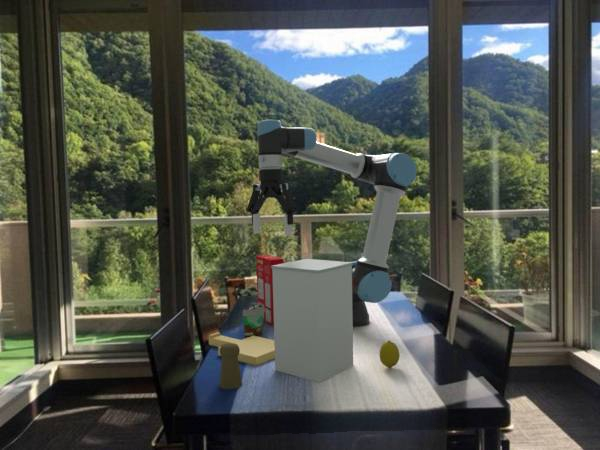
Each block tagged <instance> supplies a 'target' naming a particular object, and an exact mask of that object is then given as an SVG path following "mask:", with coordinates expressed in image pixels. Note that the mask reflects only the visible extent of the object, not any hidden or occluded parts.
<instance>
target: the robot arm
mask: <svg viewBox="0 0 600 450" xmlns="http://www.w3.org/2000/svg"><path fill="white" fill-rule="evenodd" d="M256 136H257V146H258V147H257V150H258V168H260V169H259V170H258V180H259V181H260V183H253V185H252V192H251V195H250V199H249V202H248V203H247V204H248V205H247V207H246V212H247V213H250V215H251V223H252V225H253V226H252V229H253V232H252V233H253V234H254V235H256V234H261V233H262V231H261V214H260V210H261V209H262V207H263V205H264V203H265V202H266V200H267V199H268V198H272V199H273V198H275V199H276V200H277V202H278V203H279V205H280V207H281V208H282V210H283V211H284V212H285V214H283V219H284V220H283V221H284V236H291V235H293V224H294V214H296V213H298V212H299V208H298V206H297V203H296V201H295V198H294V196H293V194H292V191H291V188H290V183H288V182H285V183H283V182H282V180H283V170H282V169H281V168H282V167H283V156H282V155H287V156H290V157H294V158H297V159H301V160H304V161H306V162H311V163H313V164H316V165H320V166H323V167H327V168H328V169H329V168H330V169H333V170H336V171H339V172H343V173H346V174H349V175H350V176H351V178H353V179H357V180H359V181H362V182H364V183H368V184H370V185H373V188H374V190H375V191H376V196H375V199H374V203H373V208H372V212H371V216H370V222H369V225H368V231H367V234H366V239H365V244H364V248H363V252H362V256H361V257H360V258H358V259H357V260H354V261H351V262H352V263H353V265H352V313H353V327H358V326H359V327H360V326H364V325H365V326H366V325H367V324H369V323H370V314H369V312H368V309H367V305H366V303H371V304H377V303H380V302H382V301H384V300H385V299H387V297H388V296H389V294H390V292H391V289H392V287H393V286H392V279H391V277H390V275H389V270H390V267H389V265H388V264H387V260H388V255H389V249H390V246H391V241H392V237H393V232H394V227H395V225H396V224H395V223H396V219H397V214H398V210H399V209H398V208H399V205H400V201H401V197H403V196H404V195H405V194H406V193H407V188H408V186H409V185H411V184H412V183H413V182H414V181H415V180H416V176H417V170H418V169H417V165H416V163H415V162H414V158H413V157H411V156H410V155H408V154H407V153H405V152H404V153H403V152H392V153H386V154H385V153H384V154H376V155H375V154H373V155H372V154H365V153H361V152H358V153H353V152H349V151H346V150H343V149H340V148H337V147H335V146H330V145H328V144H326V143H321V142H318V141H317V134H316V131H315V129H313V128H312V127H305V126H303V127H299V126H298V127H295V126H294V127H286V126H282V123H281V121H280V120H279V119H264V120H263V119H262V120H260V121H259V122H257V135H256Z"/></svg>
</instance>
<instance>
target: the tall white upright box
mask: <svg viewBox="0 0 600 450" xmlns="http://www.w3.org/2000/svg"><path fill="white" fill-rule="evenodd" d="M352 262H353V261H341V260H327V259H316V258H314V259H313V258H305V259H304V258H303V259H300V260H294V261H293V260H292V261H290V262H289V261H288V262H284V263H283V264H278V265H273V266H271V269H272V272H273V309H274V326H273V340H274V346H275V358H274V370H275V371H276V372H281V373H282V374H283V373H284V374H288V375H291V376H295V377H299V378H303V379H306V380H309V381H314V382H318V383H322V382H324V381H326V380H329V379H330V378H332V377H335V376H337V374H339V373H342V372H344V371H346V370H348V369H349V368H351V367H353V366H354V332H353V331H354V329H353V328H354V326H353V313H352V265H353V263H352Z"/></svg>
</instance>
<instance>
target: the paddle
mask: <svg viewBox="0 0 600 450" xmlns="http://www.w3.org/2000/svg"><path fill="white" fill-rule="evenodd" d="M227 343H235V344H237V345H238V346H239V349H240V352H239V355H238V361H239V362H242V363H245V364H250V365H253V366H257V365H261V364H263V363H265V362H268V361H271V360H272V359H275V346H274V339H270V338H265V337H262V336H261V337H260V336H251V337H244V338H243V339H238V338H235V337H230V336H226V335H222V334H221V332H219V331H218V332H214V333H211V334H209V335H208V345H209V346H212V347H215V348H216V347H217V354H218V355H217V356H218V357H221V355H220V348H221V346H222V345H224V344H227Z"/></svg>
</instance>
